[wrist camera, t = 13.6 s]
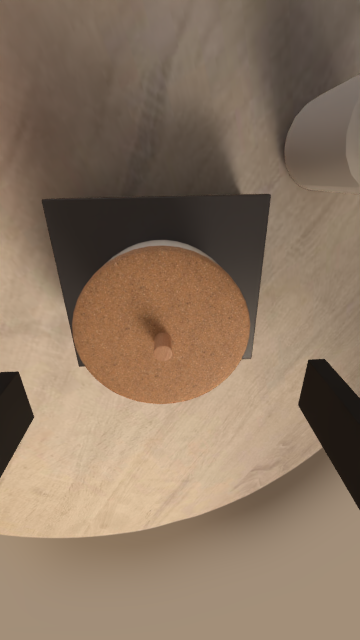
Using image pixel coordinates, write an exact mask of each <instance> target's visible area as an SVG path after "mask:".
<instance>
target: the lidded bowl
mask: <svg viewBox="0 0 360 640" xmlns="http://www.w3.org/2000/svg"><path fill="white" fill-rule="evenodd" d="M72 330H73V339H74V343H75V347H76V350H77V352H78V354H79V356H80V359H81V360H82V362H83V364H84V365H85V367H86V368H87V370H88V371H89V372H90V373H91V374H92V375H93V376H94V377H95V378H96V379H97V380H98V381H99V382H100V383H102V384H103V385H104V386H105V387H107V388H108V389H110V390H112V391H113V392H115V393H117V394H119V395H121V396H124V397H126V398H129V399H132V400H136V401H139V402H146V403H155V404H167V403H177V402H182V401H187V400H190V399H193V398H196V397H198V396H201V395H203V394H205V393H207V392H209V391H211V390H212V389H214V388H215V387H217V386H218V385H219V384H221V383H222V382H223V381H224V380H225V379H227V378H228V376H229V375H230V374H231V373H232V372H233V371H234V370H235V368H236V367H237V365H238V364H239V362H240V361H241V359H242V357H243V355H244V352H245V350H246V347H247V344H248V340H249V333H250V319H249V312H248V308H247V305H246V301H245V299H244V297H243V295H242V293H241V291H240V289H239V287H238V286H237V285H236V283H235V282H234V281H233V279H232V278H231V277H230V275H229V274H228V273H227V272H226V271H225V270H223V269H222V268H221V267H220V266H219V265H218V264H217V263H216V262H215V261H214V260H213V259H212V258H211V257H209V256H208V255H206V254H205V253H203V252H202V251H200V250H199V249H197V248H194V247H192V246H190V245H188V244H184V243H181V242H177V241H170V240H152V241H147V242H142V243H138V244H136V245H133V246H131V247H128V248H126V249H125V250H123V251H121V252H120V253H118V254H116V255H115V256H113V257H112V258H111V259H110V260H109V261H108V262H107V263H105V264H104V265H103V266H102V267H101V268H100V269H99V270H98V271H97V272H96V273H95V274H94V275H93V276H92V277H91V279H90V280H89V281H88V282H87V284H86V285H85V286H84V288H83V290H82V292H81V294H80V296H79V297H78V299H77V303H76V306H75V309H74V313H73V321H72Z"/></svg>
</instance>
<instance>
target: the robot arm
mask: <svg viewBox="0 0 360 640" xmlns="http://www.w3.org/2000/svg"><path fill="white" fill-rule="evenodd" d="M298 406H299V407H300V409H301V411H302V413H303V414H304V416H305V418H306V419H307V421H308V423H309V424H310V426H311V428H312V430H313V431H314V433H315V435H316V436H317V438H318V440H319V441H320V443H321V445H322V447H323V448H324V450H325V452H326V453H327V455H328V457H329V458H330V460H331V462H332V464H333V465H334V467H335V469H336V470H337V472H338V474H339V475H340V477H341V479H342V481H343V482H344V484H345V486H346V487H347V489H348V491H349V493H350V494H351V496H352V498H353V499H354V501H355V503H356V504H357V506H358V508H359V509H360V398H359V397H358V396H357V395H356V394H355V393H354V391H353V390H352V389H351V388H350V387H349V386H348V385H347V384H346V382H345V381H344V380H343V379H342V378H341V377H340V376H339V375H338V373H337V372H336V371H335V370H334V369H333V368H332V367H331V366H330V364H329V363H328V362H327V361H326V360H325V359H314V360H308V364H307V368H306V373H305V377H304V381H303V386H302V390H301V394H300V399H299V403H298ZM33 418H34V415H33V412H32V409H31V406H30V404H29V401H28V398H27V395H26V392H25V389H24V386H23V383H22V380H21V377H20V374H19V372H1V373H0V477H1V476H2V474H3V472H4V470H5V469H6V467H7V465H8V463H9V461H10V460H11V458H12V456H13V454H14V452H15V451H16V449H17V447H18V445H19V443H20V442H21V440H22V438H23V436H24V434H25V433H26V431H27V429H28V427H29V426H30V424H31V422H32V420H33Z"/></svg>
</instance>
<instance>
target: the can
mask: <svg viewBox="0 0 360 640" xmlns="http://www.w3.org/2000/svg"><path fill="white" fill-rule="evenodd" d="M284 150H285V164H286V167H287V169H288V172H289V175H290V176H291V178H292V179H293V180H294V181H295V182H296V183H297V184H298V185H299V186H301V187H303V188H305V189H307V190H314V191H325V192H338V193H351V194H360V74H359V75H357V76H355V77H353V78H351V79H349V80H347V81H345V82H344V83H342V84H340V85H338V86H336V87H334V88H332V89H331V90H329V91H327V92H325V93H323V94H321V95H319V96H318V97H316V98H315V99H313V100H312V101H310V102H309V103H308V104H306V105H305V106H304V107H303V109H302V110H301V111H300V112H299V113H298V115H297V116H296V117H295V119H294V121H293V123H292V125H291V127H290V129H289V131H288V134H287V138H286V143H285V148H284Z"/></svg>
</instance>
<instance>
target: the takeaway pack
mask: <svg viewBox="0 0 360 640" xmlns="http://www.w3.org/2000/svg"><path fill="white" fill-rule="evenodd" d="M270 198H271V195H270V194H238V195H193V196H148V197H103V198H58V199H42V204H43V208H44V213H45V217H46V222H47V226H48V231H49V235H50V239H51V244H52V248H53V253H54V257H55V262H56V266H57V271H58V275H59V280H60V284H61V288H62V293H63V297H64V302H65V306H66V311H67V315H68V320H69V324H70V329H71V333H72V338H73V330H72V321H73V313H74V309H75V306H76V303H77V299H78V297H79V296H80V294H81V292H82V290H83V288H84V286H85V285H86V284H87V282H88V281H89V280H90V279H91V277H92V276H93V275H94V274H95V273H96V272H97V271H98V270H99V269H100V268H101V267H102V266H103V265H104V264H105V263H107V262H108V261H109V260H110V259H111V258H112V257H113V256H115V255H116V254H118V253H120V252H121V251H123V250H125V249H126V248H128V247H131V246H133V245H136V244H138V243H142V242H147V241H152V240H170V241H177V242H181V243H184V244H188V245H190V246H192V247H194V248H197V249H199V250H200V251H202V252H203V253H205V254H206V255H208V256H209V257H211V258H212V259H213V260H214V261H215V262H216V263H217V264H218V265H219V266H220V267H221V268H222V269H223V270H225V271H226V272H227V273H228V274H229V275H230V277H231V278H232V279H233V281H234V282H235V283H236V285H237V286H238V287H239V289H240V291H241V293H242V295H243V297H244V299H245V301H246V305H247V308H248V312H249V319H250V333H249V340H248V344H247V347H246V350H245V352H244V355H243V357H242V359H251V357H252V348H253V340H254V332H255V323H256V315H257V307H258V298H259V290H260V282H261V273H262V265H263V257H264V248H265V240H266V232H267V223H268V215H269V207H270ZM73 342H74V339H73ZM74 346H75V343H74ZM75 351H76V355H77V360H78V364H79V367H81V366H85V365H84V364H83V362H82V360H81V359H80V356H79V354H78V352H77V350H76V347H75Z"/></svg>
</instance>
